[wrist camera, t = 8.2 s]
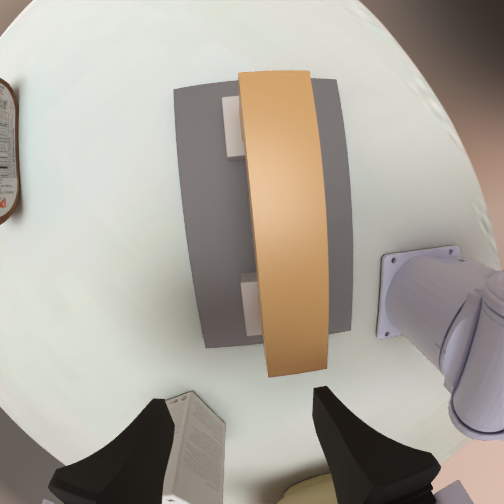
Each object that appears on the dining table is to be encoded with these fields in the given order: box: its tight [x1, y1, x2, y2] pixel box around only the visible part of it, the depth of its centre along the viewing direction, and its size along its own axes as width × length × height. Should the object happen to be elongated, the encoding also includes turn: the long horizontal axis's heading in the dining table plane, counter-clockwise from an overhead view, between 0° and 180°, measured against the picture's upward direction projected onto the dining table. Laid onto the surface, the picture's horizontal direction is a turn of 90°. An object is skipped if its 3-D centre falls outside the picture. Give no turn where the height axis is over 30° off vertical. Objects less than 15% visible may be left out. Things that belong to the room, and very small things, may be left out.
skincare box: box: [162, 391, 226, 504], centre depth 18 cm, size 6×4×12 cm
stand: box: [174, 78, 353, 348], centre depth 18 cm, size 12×20×4 cm, turn 5°
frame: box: [238, 71, 329, 377], centre depth 14 cm, size 3×14×6 cm, turn 6°
